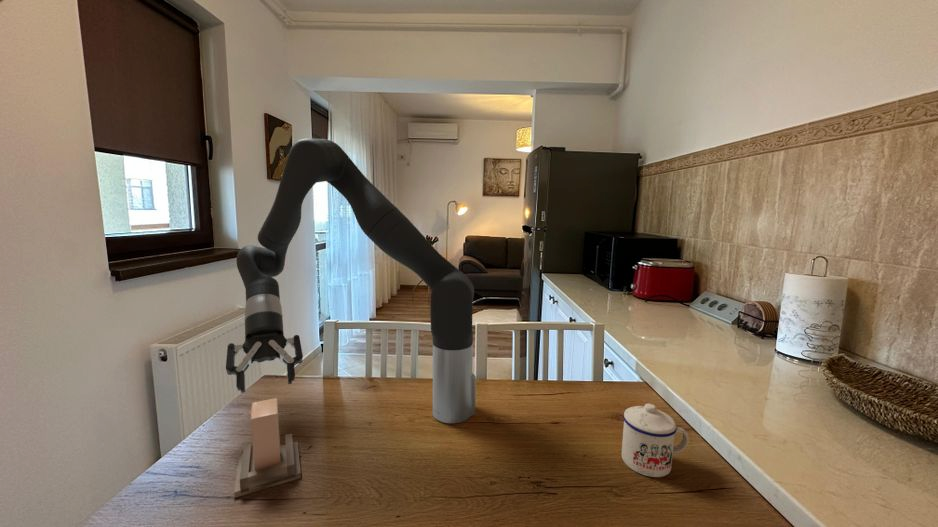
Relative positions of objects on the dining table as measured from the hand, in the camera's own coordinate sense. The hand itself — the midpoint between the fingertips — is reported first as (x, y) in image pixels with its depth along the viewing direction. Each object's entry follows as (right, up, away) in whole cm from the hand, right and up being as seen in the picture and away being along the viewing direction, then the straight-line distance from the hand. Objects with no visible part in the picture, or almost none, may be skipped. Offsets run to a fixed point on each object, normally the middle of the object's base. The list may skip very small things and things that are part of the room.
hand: (267, 386), depth 76 cm
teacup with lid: (+77, -13, -5) cm, 78 cm away
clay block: (+5, -11, -9) cm, 15 cm away
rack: (+5, -12, -9) cm, 16 cm away
